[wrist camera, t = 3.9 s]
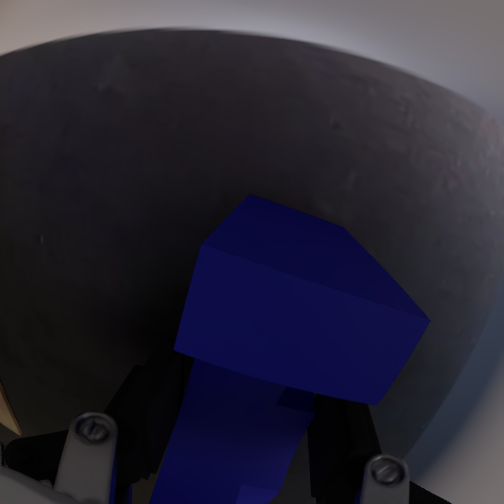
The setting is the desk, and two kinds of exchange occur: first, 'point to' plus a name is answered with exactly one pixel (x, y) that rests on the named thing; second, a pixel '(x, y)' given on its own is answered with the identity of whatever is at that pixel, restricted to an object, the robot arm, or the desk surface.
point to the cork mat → (7, 413)
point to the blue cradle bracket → (276, 348)
